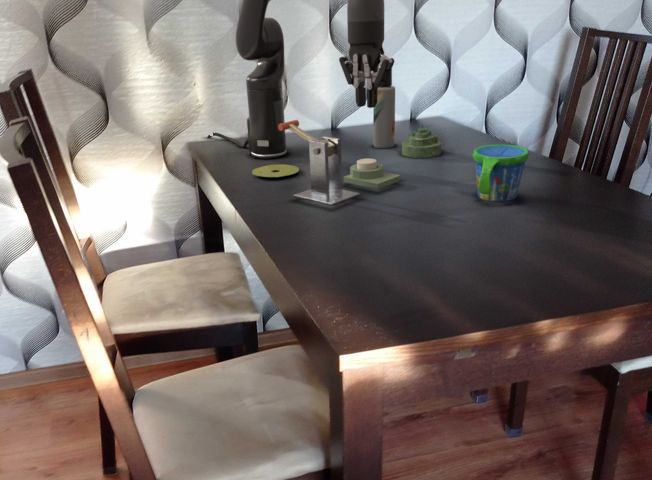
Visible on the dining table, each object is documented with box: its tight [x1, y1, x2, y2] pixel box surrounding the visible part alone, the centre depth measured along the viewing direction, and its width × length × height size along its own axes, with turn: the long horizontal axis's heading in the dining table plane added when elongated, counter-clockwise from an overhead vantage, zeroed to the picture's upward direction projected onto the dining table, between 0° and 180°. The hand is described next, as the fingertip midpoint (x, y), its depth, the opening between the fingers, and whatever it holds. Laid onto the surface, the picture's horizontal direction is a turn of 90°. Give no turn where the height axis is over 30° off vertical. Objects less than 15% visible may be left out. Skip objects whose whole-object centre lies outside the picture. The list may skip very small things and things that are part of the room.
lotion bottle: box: [372, 67, 396, 149], centre depth 185 cm, size 6×6×20 cm
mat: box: [251, 163, 300, 178], centre depth 167 cm, size 11×11×2 cm
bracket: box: [293, 135, 361, 207], centre depth 147 cm, size 11×9×13 cm
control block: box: [343, 163, 402, 190], centre depth 157 cm, size 10×8×4 cm
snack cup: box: [472, 144, 530, 202], centre depth 142 cm, size 16×10×10 cm
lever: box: [278, 119, 335, 157], centre depth 147 cm, size 13×5×2 cm, turn 45°
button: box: [356, 158, 378, 170], centre depth 157 cm, size 4×4×2 cm
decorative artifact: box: [401, 124, 442, 159], centre depth 179 cm, size 10×7×10 cm
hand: (366, 106), depth 151 cm, fingers closed
